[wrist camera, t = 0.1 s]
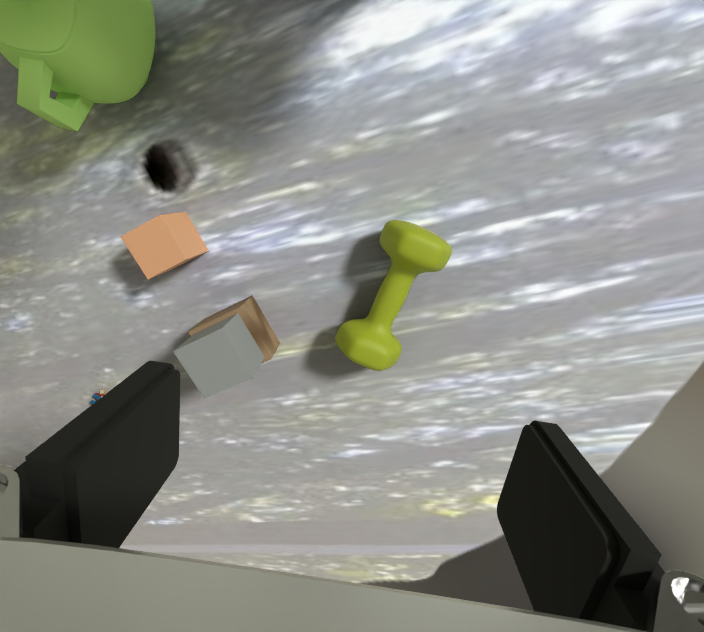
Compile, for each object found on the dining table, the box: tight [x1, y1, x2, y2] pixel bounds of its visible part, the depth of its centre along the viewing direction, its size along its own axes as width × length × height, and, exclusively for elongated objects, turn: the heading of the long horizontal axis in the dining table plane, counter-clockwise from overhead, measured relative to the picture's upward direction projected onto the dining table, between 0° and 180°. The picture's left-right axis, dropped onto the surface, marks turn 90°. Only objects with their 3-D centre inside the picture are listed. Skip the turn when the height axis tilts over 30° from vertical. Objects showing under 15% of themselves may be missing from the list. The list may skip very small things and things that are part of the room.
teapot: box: [0, 0, 155, 132], centre depth 34 cm, size 20×13×13 cm
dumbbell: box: [335, 220, 452, 371], centre depth 44 cm, size 16×8×7 cm, turn 156°
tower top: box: [173, 313, 265, 399], centre depth 43 cm, size 6×6×5 cm
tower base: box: [188, 296, 280, 363], centre depth 48 cm, size 7×7×5 cm
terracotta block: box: [121, 212, 208, 279], centre depth 44 cm, size 5×5×6 cm
